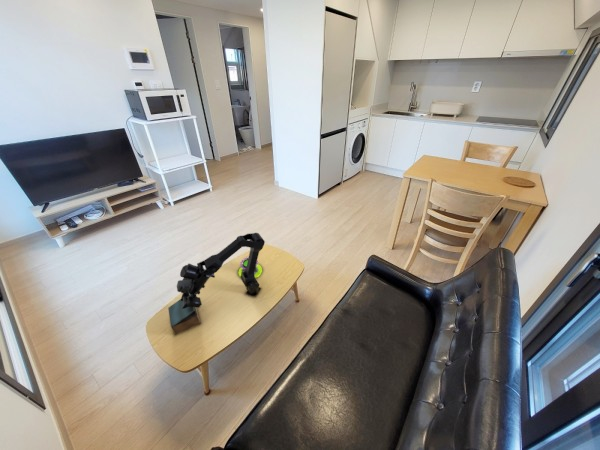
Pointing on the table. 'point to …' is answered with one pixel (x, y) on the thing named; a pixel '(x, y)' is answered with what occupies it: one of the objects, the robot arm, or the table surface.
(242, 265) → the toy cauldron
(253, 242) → the robot arm
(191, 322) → the box
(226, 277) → the table surface
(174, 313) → the lid
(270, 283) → the table surface
